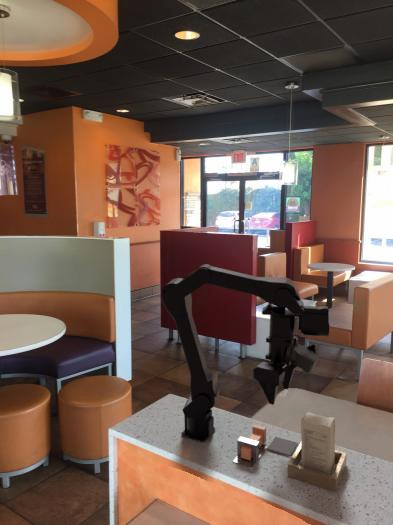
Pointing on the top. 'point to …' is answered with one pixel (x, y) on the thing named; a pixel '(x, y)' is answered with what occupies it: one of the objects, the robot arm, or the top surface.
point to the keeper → (256, 452)
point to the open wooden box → (315, 476)
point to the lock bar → (257, 435)
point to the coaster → (282, 446)
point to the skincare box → (318, 443)
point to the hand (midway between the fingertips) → (279, 396)
